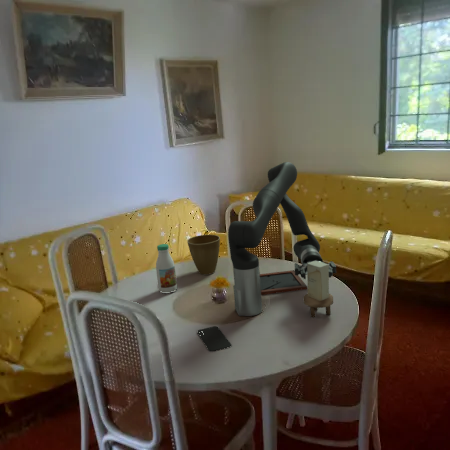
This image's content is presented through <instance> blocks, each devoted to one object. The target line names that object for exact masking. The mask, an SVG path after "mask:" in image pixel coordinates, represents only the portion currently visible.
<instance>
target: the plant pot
mask: <svg viewBox="0 0 450 450" xmlns="http://www.w3.org/2000/svg"><path fill="white" fill-rule="evenodd" d="M220 241H221V237H220V236H219V235H217V234H200V235H194V236H192V237H190V238H188V239H187V240H186V243H187V246H188V249H189V253H190V256H191V258H192V261H193V264H194V265H195V267H196V269H197V271H198V273H199V274H200V275H204V276H205V275H212V274H214V273H215V271H216V269H217V265H218V260H219V255H220V245H221V243H220Z"/></svg>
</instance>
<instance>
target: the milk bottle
mask: <svg viewBox="0 0 450 450" xmlns="http://www.w3.org/2000/svg"><path fill="white" fill-rule="evenodd" d="M156 248H157V252H158V255H157V259H156V262H155V270H156V279H157V286H158V291H159V290H160V291H162V292H171V291H174V290H176V289H177V290H178V284H177V283H178V282H177V273H176V268H175V261H174V260H173V259H174V258H172V256H171V254H170V252H169V250H170V246H169V244H167V243H162V244H158V245H157V247H156ZM177 290H176V291H177Z"/></svg>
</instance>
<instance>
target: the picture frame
mask: <svg viewBox="0 0 450 450" xmlns="http://www.w3.org/2000/svg"><path fill="white" fill-rule="evenodd" d="M260 286H261V296H262V295H264V296H265V295H271V294H279V293H280V294H281V293H288V292H295V291H304V290H308V285H307V284H306V283H305V282H304V281H303V278H302V277H301V276H300V275H295V269H294V270H293V269H292V270H283V271H276V272H268V273H260Z"/></svg>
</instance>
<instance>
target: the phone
mask: <svg viewBox="0 0 450 450" xmlns="http://www.w3.org/2000/svg"><path fill="white" fill-rule="evenodd" d="M197 331H198V333H197V335H198V334H199V335H201V336H200V337H201V338H202V340H203V341H202V340H201V341H202V343H203V342H204V343H205V344H204V343H203V344H204V345H206V346H207V347H206V346H205V347H206V348H208V349H207V350H208V352H210V351H214V352H217V351H216V350H218V351H221V350H225V349H228V348H227V347H229V348H231V347H232V344H231V342H230V340H229V339H228V338H227V337H226V335H225V334H224V333H223V331H222V330H221V329H220V328H219V326H216V325H214V326H209V327H206V328H201V329H197ZM201 331H203V333H204V335H203V333H202V332H201ZM199 332H200V333H199ZM199 335H198V336H199ZM200 337H199V338H200ZM201 338H200V339H201ZM230 346H231V347H230ZM224 348H225V349H224ZM220 349H221V350H220Z"/></svg>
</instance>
